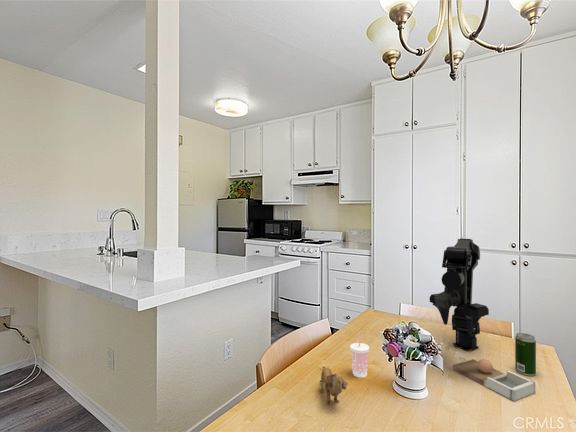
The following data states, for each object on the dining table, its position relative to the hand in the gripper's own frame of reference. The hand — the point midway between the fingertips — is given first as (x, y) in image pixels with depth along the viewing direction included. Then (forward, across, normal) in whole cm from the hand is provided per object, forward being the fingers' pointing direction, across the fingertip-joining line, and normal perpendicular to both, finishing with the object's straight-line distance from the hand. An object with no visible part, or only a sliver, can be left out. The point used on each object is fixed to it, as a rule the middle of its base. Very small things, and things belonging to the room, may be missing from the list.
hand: (457, 328), depth 106 cm
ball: (+9, +9, +1) cm, 13 cm away
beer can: (+13, +13, +16) cm, 24 cm away
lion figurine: (+13, -2, -49) cm, 51 cm away
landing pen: (+12, +17, +1) cm, 21 cm away
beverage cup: (+13, -9, -34) cm, 38 cm away
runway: (+12, +8, +1) cm, 15 cm away
